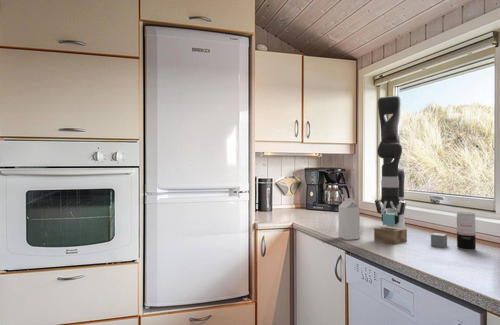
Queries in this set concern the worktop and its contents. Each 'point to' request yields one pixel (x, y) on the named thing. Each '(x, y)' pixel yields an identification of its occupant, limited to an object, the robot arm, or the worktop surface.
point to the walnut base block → (390, 235)
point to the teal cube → (389, 219)
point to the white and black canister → (466, 231)
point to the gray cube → (439, 240)
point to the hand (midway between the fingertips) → (390, 223)
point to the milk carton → (349, 220)
